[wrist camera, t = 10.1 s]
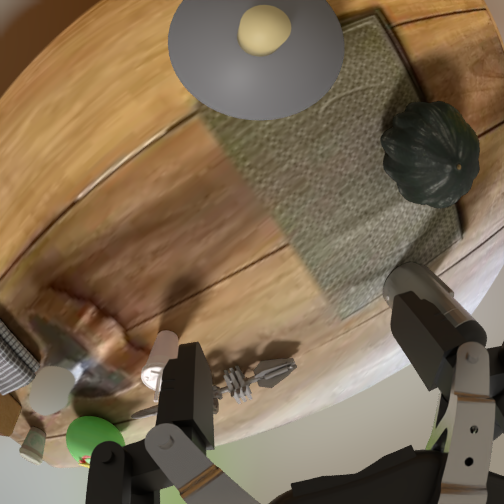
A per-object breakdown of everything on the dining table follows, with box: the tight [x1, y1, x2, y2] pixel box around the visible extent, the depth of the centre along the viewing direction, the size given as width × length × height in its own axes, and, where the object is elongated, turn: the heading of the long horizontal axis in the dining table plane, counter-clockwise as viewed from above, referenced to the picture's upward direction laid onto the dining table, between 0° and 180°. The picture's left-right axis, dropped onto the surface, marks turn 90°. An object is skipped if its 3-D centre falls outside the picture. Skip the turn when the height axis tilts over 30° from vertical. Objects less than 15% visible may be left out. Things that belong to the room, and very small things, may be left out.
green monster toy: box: [66, 416, 125, 468], centre depth 54 cm, size 18×17×15 cm
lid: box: [168, 0, 344, 120], centre depth 22 cm, size 18×18×6 cm
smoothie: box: [141, 330, 179, 402], centre depth 42 cm, size 6×6×14 cm
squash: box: [380, 101, 480, 208], centre depth 33 cm, size 14×15×15 cm
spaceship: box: [131, 358, 297, 419], centre depth 51 cm, size 8×35×8 cm
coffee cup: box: [19, 427, 46, 465], centre depth 58 cm, size 8×9×12 cm
